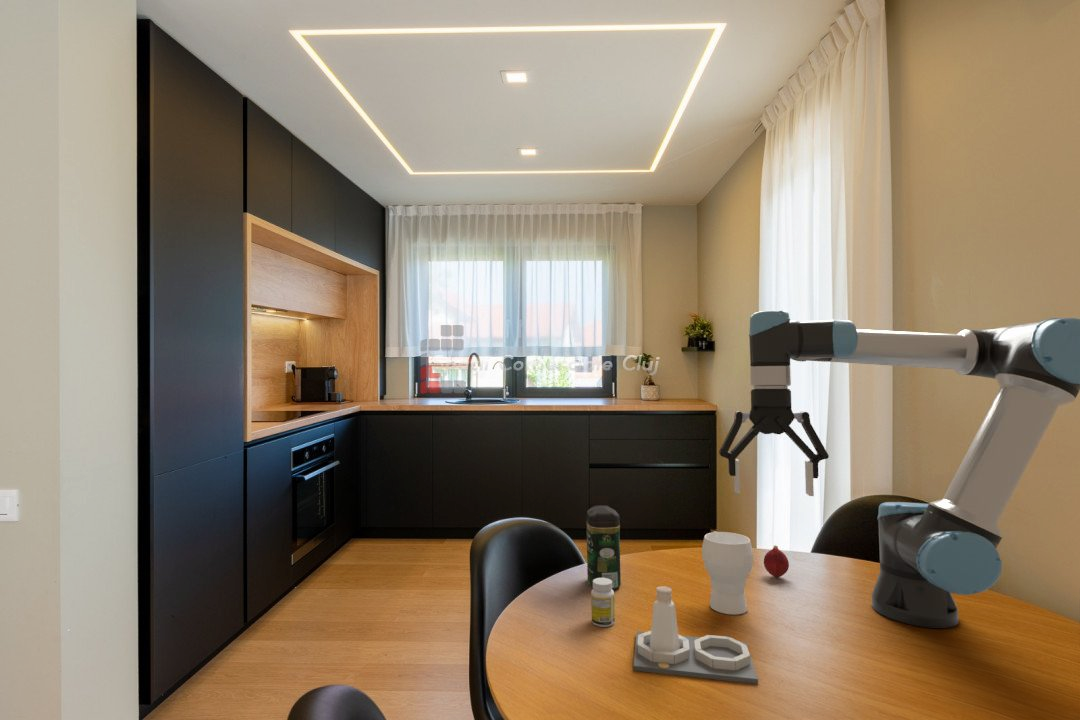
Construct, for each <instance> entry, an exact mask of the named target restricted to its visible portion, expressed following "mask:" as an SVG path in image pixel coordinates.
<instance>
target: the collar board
mask: <svg viewBox="0 0 1080 720" xmlns="http://www.w3.org/2000/svg"><path fill="white" fill-rule="evenodd" d="M635 635H636V636H635V646H634V657H633V658H634V659H633V671H634V672H644V673H651V674H652V673H653V674H660V675H661V674H662V675H663V674H664V675H669V676H670V675H671V676H679V677H689V678H690V677H691V678H699V679H707V680H716V681H717V680H718V681H728V682H735V683H745V684H753V685H755V684H756V685H759V678H758V674H757V671H756V669H755V666H754V662H753V660H752V657H751V654H750V650H749V647H748V645H747V642H746V641H745V640H744V641H742V640H737V639H735V638H733V637H730V636H726V635H713V634H712V635H711V634H706V635H704V636H702V637H701V636H700V637H699V636H697V637H696V636H687V635H680V634H679V633H678V636H679V645H680V649H679V650H676V651H674V652H665V651H655V650H653V649H651V648H650V640H651V630H648V631H636V634H635Z"/></svg>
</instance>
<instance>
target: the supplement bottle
mask: <svg viewBox="0 0 1080 720" xmlns="http://www.w3.org/2000/svg"><path fill="white" fill-rule="evenodd" d="M590 599H591V602H590V606H591V623H592V624H593V625H594V626H596V627H599V628H609V627H611V626H613V625H614V624H615V621H616V619H615V615H616V614H615V610H616V609H615V592H614V589H613V590H612V581H611V580H610V579H608V578H596V579H594V580H593V588H592V589H591V592H590Z"/></svg>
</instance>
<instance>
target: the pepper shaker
mask: <svg viewBox="0 0 1080 720" xmlns="http://www.w3.org/2000/svg"><path fill="white" fill-rule="evenodd" d="M655 591H656V600H654V601H653V606H652V617H651V619H652V621H651V628H650V629H651V630H650V631H651V640H650V648H651V649H653V650H655V651H665V652H674V651H676V650H679V649H680V645H679V636H678V634H679V628H678V621H677V613H676V611H677V610H676V605H675V603H674V601H673V600H672V599H673V596H672V593H673V589H672V587H671V588H670V587H668V586H664V585H663V586H662V585H661V586H657V587H656V588H655Z"/></svg>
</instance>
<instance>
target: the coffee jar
mask: <svg viewBox="0 0 1080 720" xmlns="http://www.w3.org/2000/svg"><path fill="white" fill-rule="evenodd" d="M620 518H621V517H620V514H619V513H618V511H616V510H615V509H614V508H612V507H610V506H609V505H592V507H590V508H589V509H588V510H587V511H586V560H587V561H586V562H587V564H586V567H587V568H586V570H587V581H588V584H589V586H590V587H591V588H592V589H593V580H594V579H596V578H608V579H610V580H611V581H612V590H613V591H614V590H617V589H619V588H620V587H621V584H622V581H621V580H622V579H621V548H620V547H621V546H620V545H621V544H620V543H621V539H620V538H621V537H620V535H621V534H620V533H621V531H620V530H621V525H620V524H621V522H620Z"/></svg>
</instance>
